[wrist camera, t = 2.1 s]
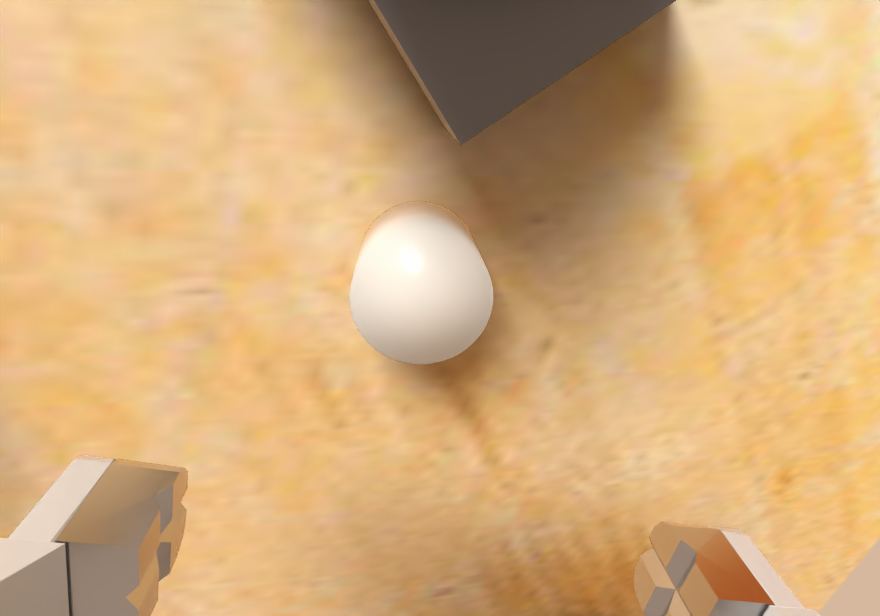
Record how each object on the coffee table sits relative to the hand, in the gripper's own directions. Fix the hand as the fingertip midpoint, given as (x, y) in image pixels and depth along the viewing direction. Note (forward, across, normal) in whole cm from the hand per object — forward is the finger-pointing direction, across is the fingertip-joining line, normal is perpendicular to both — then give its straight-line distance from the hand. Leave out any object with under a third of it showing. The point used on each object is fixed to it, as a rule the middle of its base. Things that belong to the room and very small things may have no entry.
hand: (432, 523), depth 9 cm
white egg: (+16, -1, 0) cm, 16 cm away
